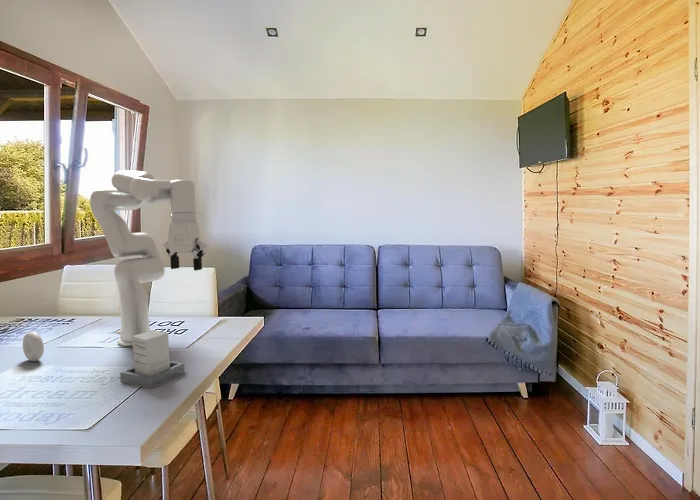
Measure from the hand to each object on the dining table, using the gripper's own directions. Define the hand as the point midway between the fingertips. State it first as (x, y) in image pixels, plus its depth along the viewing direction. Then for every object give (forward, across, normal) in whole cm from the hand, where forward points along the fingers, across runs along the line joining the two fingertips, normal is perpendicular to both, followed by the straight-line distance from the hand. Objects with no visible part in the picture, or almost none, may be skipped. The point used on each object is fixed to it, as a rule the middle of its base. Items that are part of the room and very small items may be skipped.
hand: (186, 269), depth 142 cm
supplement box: (+30, +2, -18) cm, 35 cm away
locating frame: (+30, +2, -18) cm, 35 cm away
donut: (+31, -47, -22) cm, 60 cm away
